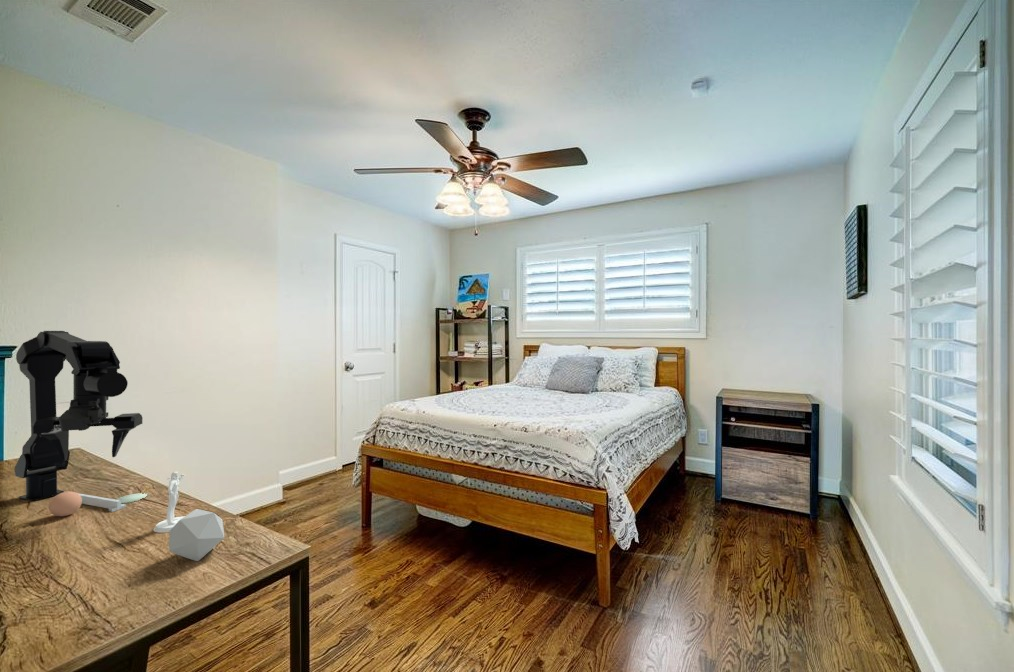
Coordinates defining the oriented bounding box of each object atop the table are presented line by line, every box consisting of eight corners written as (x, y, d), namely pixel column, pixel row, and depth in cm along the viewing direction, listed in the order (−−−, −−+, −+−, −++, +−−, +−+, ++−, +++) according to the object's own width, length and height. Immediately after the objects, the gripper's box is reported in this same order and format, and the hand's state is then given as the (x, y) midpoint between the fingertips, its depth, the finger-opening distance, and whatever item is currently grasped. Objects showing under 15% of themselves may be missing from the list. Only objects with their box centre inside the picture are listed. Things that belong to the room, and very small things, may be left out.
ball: (43, 518, 102) (42, 494, 102) (72, 509, 107) (72, 487, 107) (58, 521, 100) (57, 497, 100) (87, 512, 105) (87, 489, 105)
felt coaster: (109, 501, 112) (109, 500, 112) (137, 493, 118) (137, 492, 118) (126, 504, 110) (126, 503, 110) (153, 495, 116) (153, 494, 116)
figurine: (188, 529, 96) (188, 474, 96) (148, 535, 93) (147, 478, 93) (197, 516, 102) (196, 465, 102) (159, 521, 100) (159, 468, 100)
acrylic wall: (69, 504, 110) (69, 496, 110) (84, 499, 113) (84, 492, 113) (112, 511, 105) (112, 503, 105) (126, 507, 108) (126, 499, 108)
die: (235, 553, 86) (232, 503, 91) (204, 550, 79) (202, 496, 83) (192, 571, 85) (191, 520, 90) (155, 570, 78) (157, 514, 83)
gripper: (15, 400, 94) (15, 473, 94) (124, 396, 101) (124, 464, 102) (46, 393, 105) (46, 458, 105) (143, 390, 112) (143, 451, 112)
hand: (90, 458), depth 105 cm, fingers open, 9 cm apart
